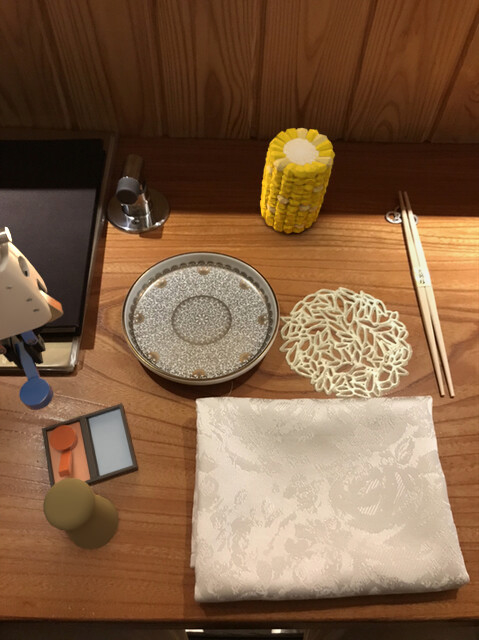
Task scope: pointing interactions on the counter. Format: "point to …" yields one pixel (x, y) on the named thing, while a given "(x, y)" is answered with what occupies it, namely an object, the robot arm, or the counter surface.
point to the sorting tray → (95, 447)
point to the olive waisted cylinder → (81, 513)
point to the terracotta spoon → (64, 447)
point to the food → (295, 179)
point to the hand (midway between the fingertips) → (30, 355)
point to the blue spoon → (33, 383)
